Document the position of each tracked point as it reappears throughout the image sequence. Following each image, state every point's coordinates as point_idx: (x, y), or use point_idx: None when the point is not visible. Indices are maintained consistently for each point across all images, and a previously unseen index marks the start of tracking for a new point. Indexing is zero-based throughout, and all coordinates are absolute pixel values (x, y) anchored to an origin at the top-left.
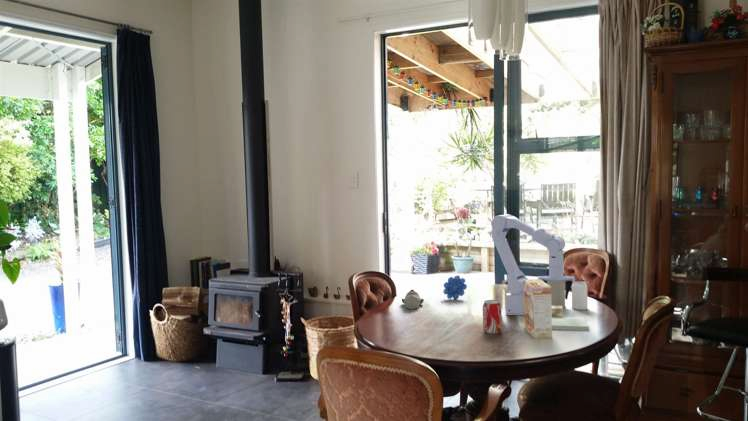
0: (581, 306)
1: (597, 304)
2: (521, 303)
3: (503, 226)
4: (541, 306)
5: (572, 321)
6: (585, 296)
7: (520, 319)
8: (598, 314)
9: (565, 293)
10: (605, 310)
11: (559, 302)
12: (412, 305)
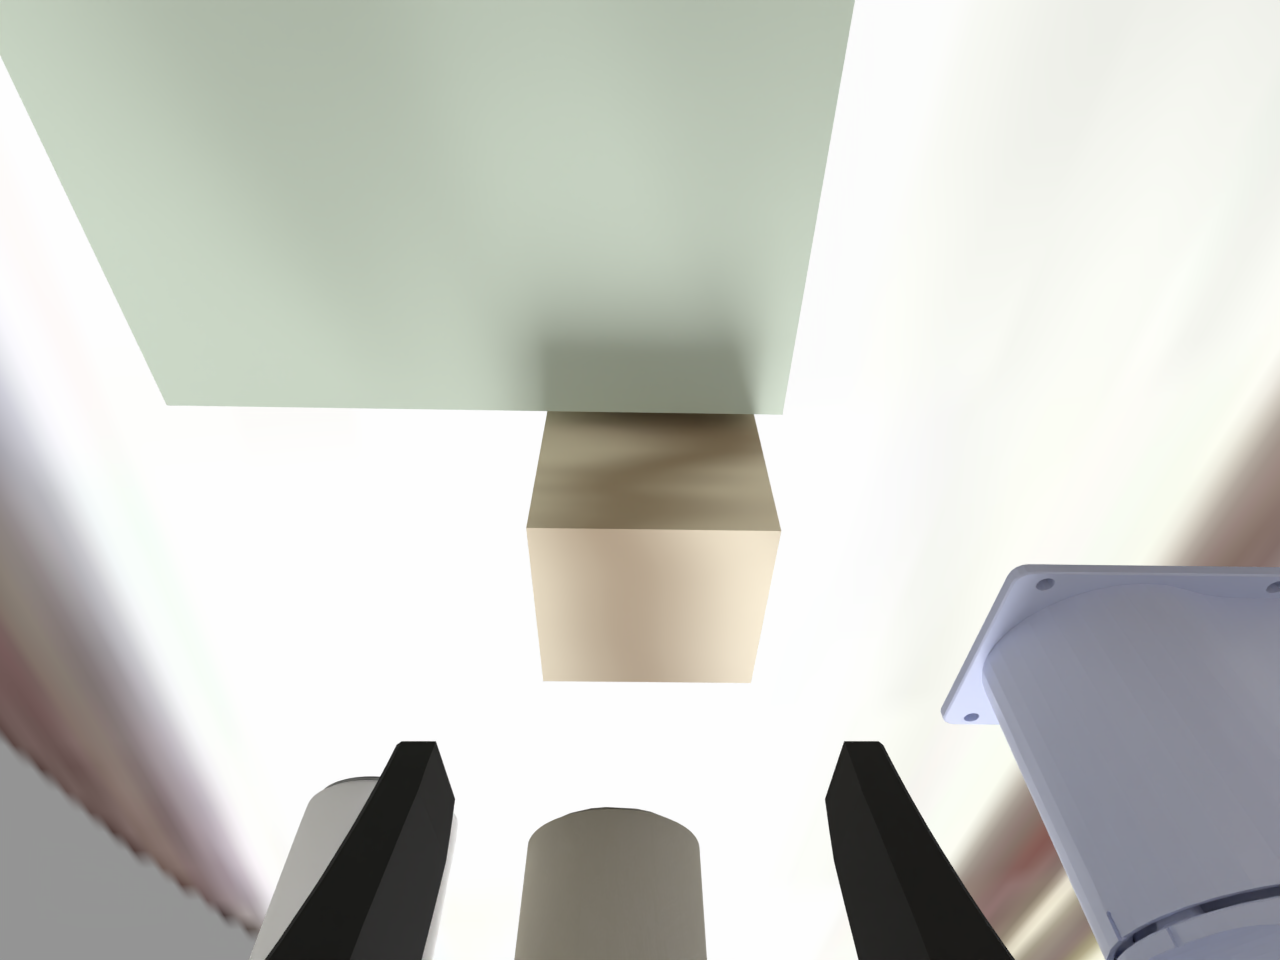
0: (345, 814)
1: (259, 894)
2: (1210, 723)
3: None
4: None
5: (325, 54)
6: (260, 947)
7: (1240, 377)
8: (139, 672)
9: (413, 910)
10: (126, 782)
11: (577, 869)
12: None
